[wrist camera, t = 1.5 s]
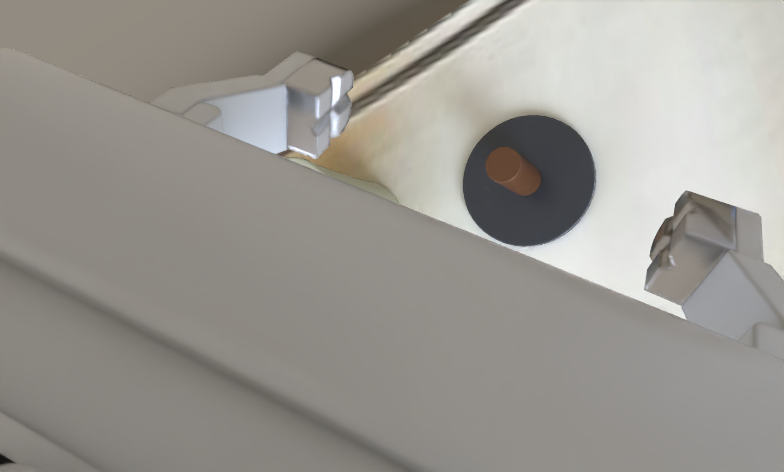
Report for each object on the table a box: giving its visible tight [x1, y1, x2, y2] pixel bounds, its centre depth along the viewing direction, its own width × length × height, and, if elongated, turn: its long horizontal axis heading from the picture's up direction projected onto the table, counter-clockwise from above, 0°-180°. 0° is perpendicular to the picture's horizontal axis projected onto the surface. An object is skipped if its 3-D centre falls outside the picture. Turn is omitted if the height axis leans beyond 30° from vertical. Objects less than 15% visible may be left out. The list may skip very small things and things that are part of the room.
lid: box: [463, 115, 596, 246], centre depth 43 cm, size 11×11×7 cm
